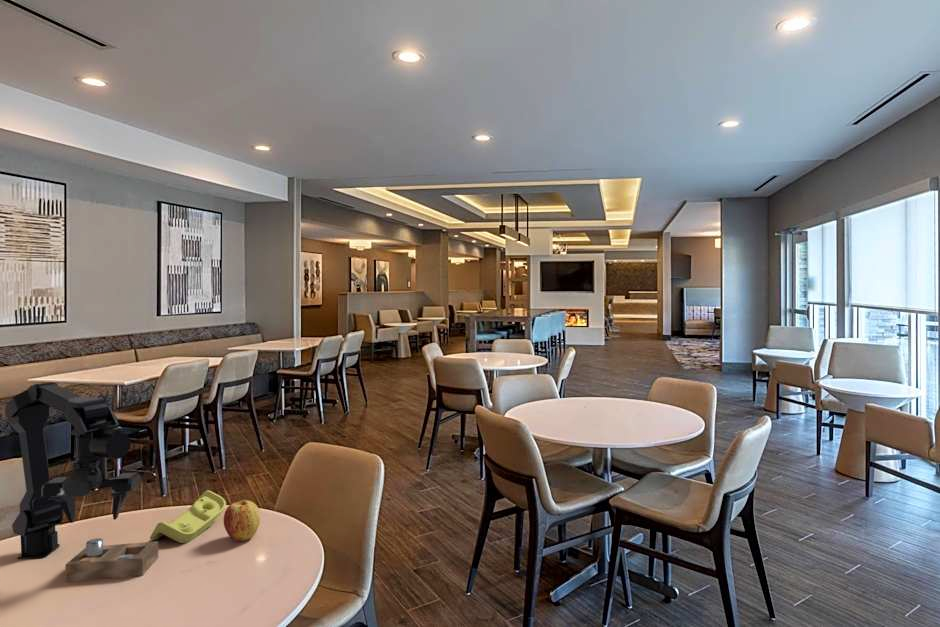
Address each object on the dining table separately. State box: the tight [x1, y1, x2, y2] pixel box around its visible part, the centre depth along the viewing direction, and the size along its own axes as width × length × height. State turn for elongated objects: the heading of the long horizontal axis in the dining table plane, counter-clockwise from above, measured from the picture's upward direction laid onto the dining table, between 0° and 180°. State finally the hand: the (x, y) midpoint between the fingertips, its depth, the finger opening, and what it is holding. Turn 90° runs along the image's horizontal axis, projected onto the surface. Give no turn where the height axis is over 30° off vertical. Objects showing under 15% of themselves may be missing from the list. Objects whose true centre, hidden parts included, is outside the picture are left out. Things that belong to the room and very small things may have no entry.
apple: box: [223, 499, 261, 542], centre depth 147 cm, size 9×9×10 cm
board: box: [64, 540, 159, 583], centre depth 131 cm, size 16×9×4 cm, turn 99°
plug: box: [85, 537, 104, 558], centre depth 130 cm, size 3×3×7 cm
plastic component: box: [149, 490, 227, 544], centre depth 154 cm, size 20×7×10 cm
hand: (93, 520), depth 130 cm, fingers open, 9 cm apart
